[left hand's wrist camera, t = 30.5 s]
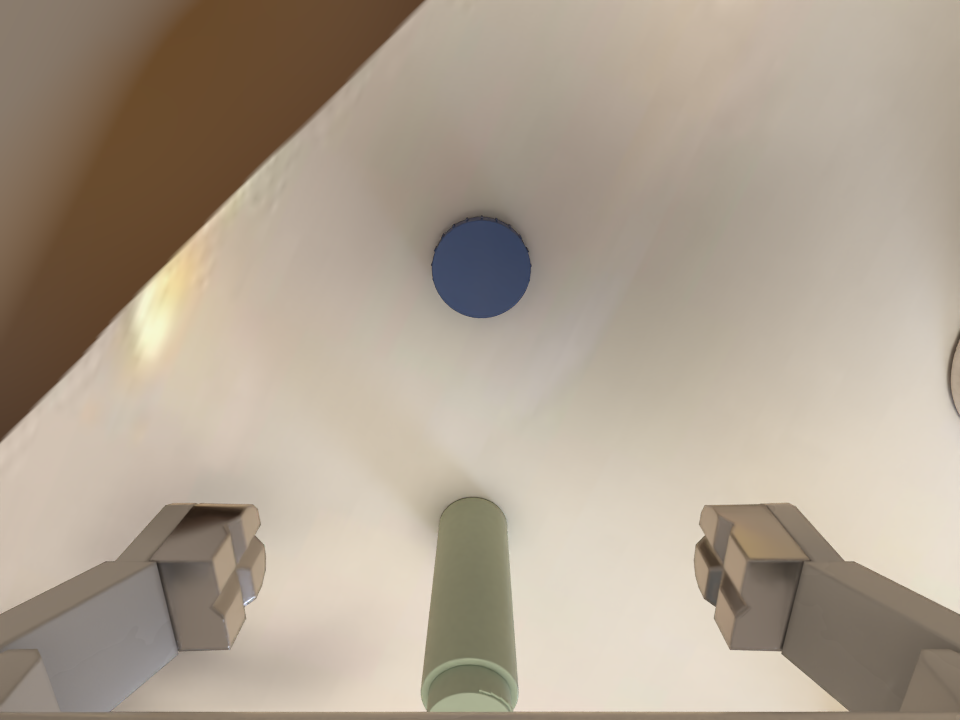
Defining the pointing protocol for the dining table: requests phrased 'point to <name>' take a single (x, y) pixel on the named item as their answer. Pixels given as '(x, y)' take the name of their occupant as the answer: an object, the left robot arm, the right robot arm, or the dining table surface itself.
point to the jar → (471, 614)
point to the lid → (481, 267)
